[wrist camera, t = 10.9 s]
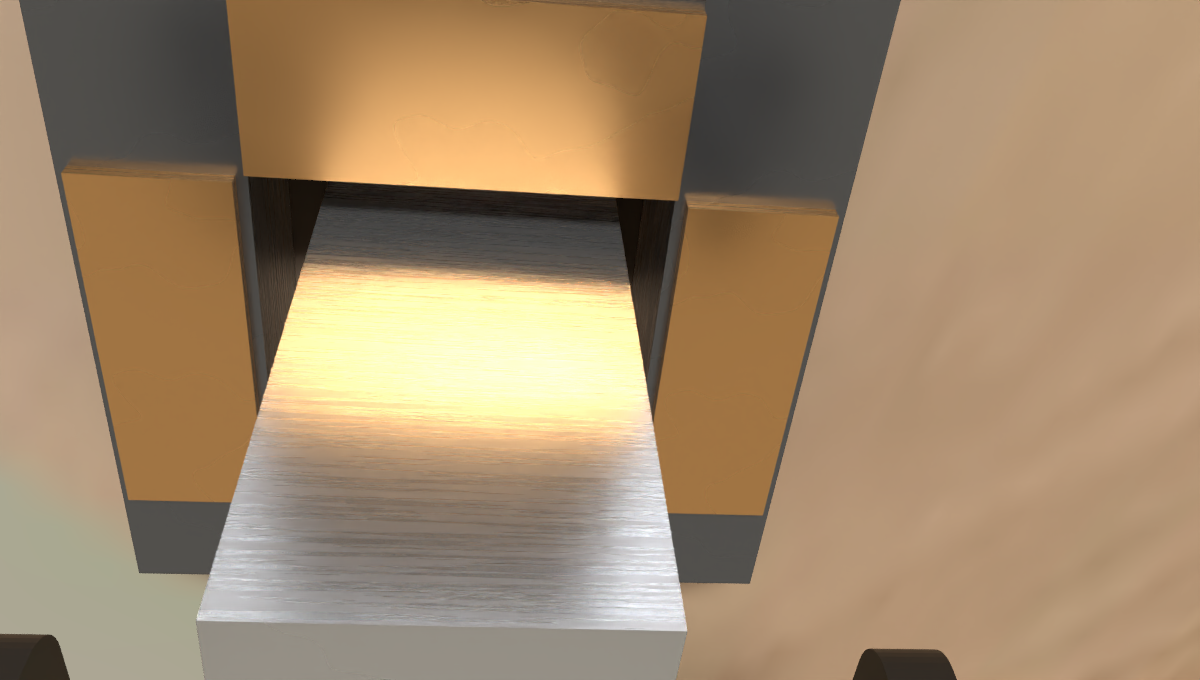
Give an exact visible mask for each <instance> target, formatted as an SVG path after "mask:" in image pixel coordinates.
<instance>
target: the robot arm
mask: <svg viewBox="0 0 1200 680" xmlns="http://www.w3.org/2000/svg"><path fill="white" fill-rule="evenodd" d="M0 680H70V678H69V675H68V672H67V669H66V666H65V662H64V658H63V655H62V652H61V649H60V646H59V643H58V641H57V640H56V638H55V637H54V636H52V635H35V634H34V635H33V634H0ZM853 680H957V679H956V676H955V674H954V671H953V669H952V666H951V664H950V662H949V661H948V659H947V657H946V656H945V655H944V654H943V653H942V652H941V651H939V650H929V649H867V650H865V651H864V653H863V654H862V656H861V658H860V660H859V663H858V666H857V669H856V672H855V675H854V677H853Z"/></svg>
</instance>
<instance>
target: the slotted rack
mask: <svg viewBox="0 0 1200 680" xmlns="http://www.w3.org/2000/svg"><path fill="white" fill-rule="evenodd" d="M900 1H901V0H19V2H20V7H21V12H22V16H23V21H24V26H25V31H26V35H27V40H28V45H29V50H30V55H31V59H32V64H33V69H34V74H35V78H36V83H37V88H38V93H39V97H40V102H41V107H42V112H43V117H44V121H45V126H46V131H47V136H48V140H49V145H50V150H51V155H52V159H53V164H54V169H55V174H56V178H57V183H58V188H59V193H60V198H61V202H62V207H63V212H64V217H65V221H66V226H67V231H68V236H69V240H70V245H71V250H72V255H73V260H74V264H75V269H76V274H77V279H78V283H79V288H80V293H81V298H82V302H83V307H84V312H85V317H86V322H87V326H88V331H89V336H90V341H91V345H92V350H93V355H94V360H95V364H96V369H97V374H98V379H99V383H100V388H101V393H102V398H103V403H104V407H105V412H106V417H107V422H108V426H109V431H110V436H111V441H112V445H113V450H114V455H115V460H116V465H117V469H118V474H119V479H120V484H121V488H122V493H123V498H124V503H125V507H126V512H127V517H128V522H129V527H130V531H131V536H132V541H133V546H134V550H135V555H136V560H137V565H138V569H139V573H160V574H210V572H211V569H212V566H213V562H214V559H215V556H216V552H217V549H218V546H219V542H220V539H221V536H222V532H223V529H224V526H225V522H226V519H227V516H228V513H229V509H230V506H231V503H232V499H233V496H234V493H235V489H236V486H237V483H238V479H239V476H240V473H241V469H242V466H243V463H244V459H245V456H246V453H247V449H248V446H249V443H250V439H251V436H252V433H253V430H254V426H255V423H256V420H257V416H258V413H259V410H260V406H261V403H262V400H263V396H264V393H265V390H266V386H267V383H268V380H269V376H270V373H271V370H272V366H273V363H274V360H275V356H276V353H277V350H278V347H279V343H280V340H281V337H282V333H283V330H284V327H285V323H286V320H287V317H288V313H289V310H290V307H291V303H292V300H293V297H294V293H295V290H296V276H295V263H294V249H293V235H292V222H291V208H290V195H289V181H288V179H304V180H321V181H339V182H356V183H374V184H391V185H409V186H426V187H444V188H461V189H479V190H496V191H514V192H531V193H549V194H566V195H584V196H601V197H619V198H636V199H644V201H643V208H642V216H641V223H640V230H639V237H638V245H637V252H636V259H635V267H634V274H633V281H632V289H631V295H632V301H633V307H634V313H635V319H636V325H637V331H638V337H639V343H640V349H641V355H642V361H643V367H644V373H645V379H646V385H647V391H648V397H649V403H650V409H651V415H652V421H653V427H654V434H655V440H656V446H657V452H658V458H659V464H660V470H661V476H662V482H663V488H664V494H665V500H666V506H667V512H668V518H669V524H670V530H671V536H672V542H673V548H674V554H675V560H676V566H677V572H678V578H679V582H684V583H742V584H750V581H751V577H752V573H753V569H754V565H755V561H756V557H757V554H758V550H759V546H760V542H761V538H762V534H763V530H764V527H765V523H766V519H767V515H768V511H769V507H770V503H771V499H772V496H773V492H774V488H775V484H776V480H777V476H778V472H779V469H780V465H781V461H782V457H783V453H784V449H785V445H786V441H787V438H788V434H789V430H790V426H791V422H792V418H793V414H794V411H795V407H796V403H797V399H798V395H799V391H800V387H801V383H802V380H803V376H804V372H805V368H806V364H807V360H808V356H809V353H810V349H811V345H812V341H813V337H814V333H815V329H816V325H817V322H818V318H819V314H820V310H821V306H822V302H823V298H824V295H825V291H826V287H827V283H828V279H829V275H830V271H831V267H832V264H833V260H834V256H835V252H836V248H837V244H838V240H839V237H840V233H841V229H842V225H843V221H844V217H845V213H846V209H847V206H848V202H849V198H850V194H851V190H852V186H853V182H854V179H855V175H856V171H857V167H858V163H859V159H860V155H861V151H862V148H863V144H864V140H865V136H866V132H867V128H868V124H869V121H870V117H871V113H872V109H873V105H874V101H875V97H876V93H877V90H878V86H879V82H880V78H881V74H882V70H883V66H884V63H885V59H886V55H887V51H888V47H889V43H890V39H891V35H892V32H893V28H894V24H895V20H896V16H897V12H898V8H899V5H900Z"/></svg>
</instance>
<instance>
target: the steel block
mask: <svg viewBox="0 0 1200 680" xmlns="http://www.w3.org/2000/svg"><path fill="white" fill-rule="evenodd" d="M196 625H197V632H198V638H199V645H200V651H201V657H202V664H203V671H204V678H205V680H676V677H677V673H678V668H679V664H680V660H681V656H682V652H683V647H684V643H685V639H686V635H687V626H686V620H685V614H684V608H683V602H682V596H681V590H680V584H679V578H678V572H677V566H676V560H675V554H674V548H673V542H672V536H671V530H670V524H669V518H668V512H667V506H666V500H665V494H664V488H663V482H662V476H661V470H660V464H659V458H658V452H657V446H656V440H655V434H654V427H653V421H652V415H651V409H650V403H649V397H648V391H647V385H646V379H645V373H644V367H643V361H642V355H641V349H640V343H639V337H638V331H637V325H636V319H635V313H634V307H633V301H632V295H631V289H630V283H629V277H628V271H627V265H626V259H625V253H624V247H623V241H622V235H621V229H620V223H619V217H618V211H617V205H616V199H615V197H601V196H584V195H566V194H549V193H531V192H514V191H496V190H479V189H461V188H444V187H426V186H409V185H391V184H374V183H356V182H339V181H328V184H327V187H326V191H325V194H324V197H323V200H322V204H321V207H320V210H319V214H318V217H317V220H316V224H315V227H314V230H313V234H312V237H311V240H310V244H309V247H308V250H307V254H306V257H305V260H304V264H303V267H302V270H301V274H300V277H299V280H298V283H297V287H296V290H295V293H294V297H293V300H292V303H291V307H290V310H289V313H288V317H287V320H286V323H285V327H284V330H283V333H282V337H281V340H280V343H279V347H278V350H277V353H276V356H275V360H274V363H273V366H272V370H271V373H270V376H269V380H268V383H267V386H266V390H265V393H264V396H263V400H262V403H261V406H260V410H259V413H258V416H257V420H256V423H255V426H254V430H253V433H252V436H251V439H250V443H249V446H248V449H247V453H246V456H245V459H244V463H243V466H242V469H241V473H240V476H239V479H238V483H237V486H236V489H235V493H234V496H233V499H232V503H231V506H230V509H229V513H228V516H227V519H226V522H225V526H224V529H223V532H222V536H221V539H220V542H219V546H218V549H217V552H216V556H215V559H214V562H213V566H212V569H211V572H210V576H209V579H208V582H207V586H206V589H205V592H204V595H203V599H202V602H201V605H200V609H199V612H198V616H197V619H196Z"/></svg>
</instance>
